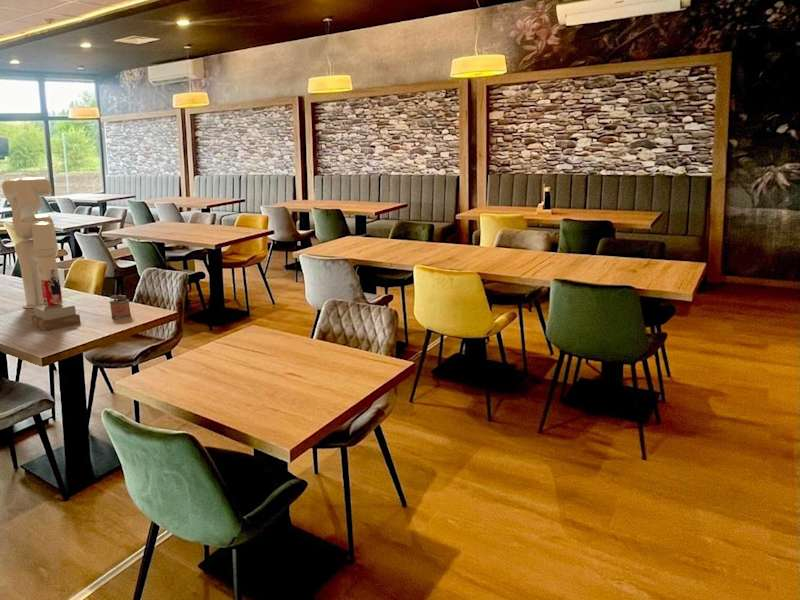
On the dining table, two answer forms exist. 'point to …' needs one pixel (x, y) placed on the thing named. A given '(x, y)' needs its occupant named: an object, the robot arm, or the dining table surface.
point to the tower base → (56, 322)
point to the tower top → (54, 311)
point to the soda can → (50, 295)
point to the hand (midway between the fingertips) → (51, 292)
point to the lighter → (120, 307)
